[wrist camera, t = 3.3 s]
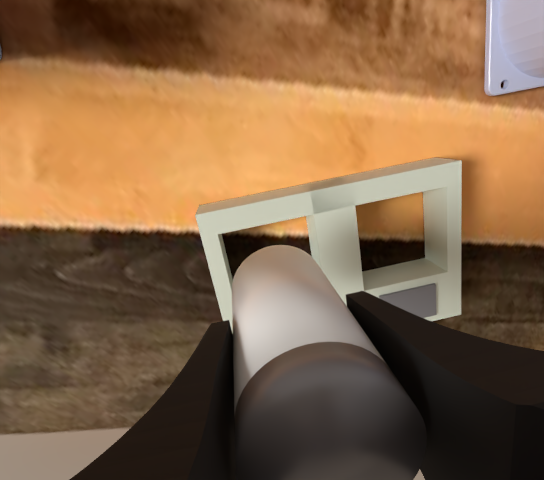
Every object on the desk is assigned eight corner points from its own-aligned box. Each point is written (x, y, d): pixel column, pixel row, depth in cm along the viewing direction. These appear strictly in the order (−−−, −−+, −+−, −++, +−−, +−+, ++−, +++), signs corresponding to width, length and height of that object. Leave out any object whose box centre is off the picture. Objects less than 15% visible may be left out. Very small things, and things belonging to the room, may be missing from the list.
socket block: (435, 157, 21) (464, 160, 18) (438, 296, 24) (463, 316, 22) (199, 205, 20) (194, 215, 17) (234, 343, 23) (235, 369, 21)
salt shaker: (316, 235, 14) (423, 357, 6) (329, 318, 15) (430, 502, 8) (222, 256, 14) (214, 409, 6) (242, 338, 15) (257, 549, 7)
